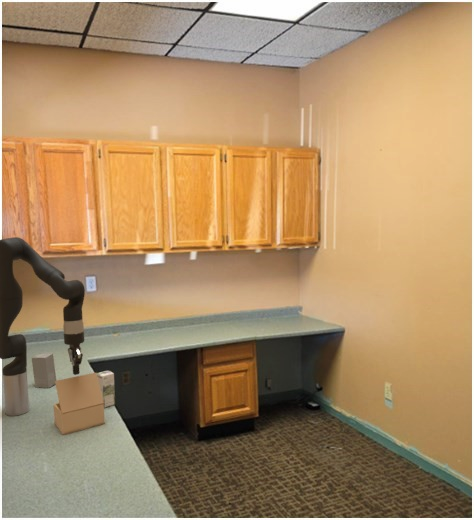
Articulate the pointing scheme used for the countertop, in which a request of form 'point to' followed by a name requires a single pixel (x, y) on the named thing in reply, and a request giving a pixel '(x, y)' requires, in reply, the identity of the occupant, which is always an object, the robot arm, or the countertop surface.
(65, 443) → the countertop surface
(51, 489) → the countertop surface
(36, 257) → the robot arm
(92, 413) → the carton
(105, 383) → the syrup box
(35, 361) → the skincare box
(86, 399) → the lid
